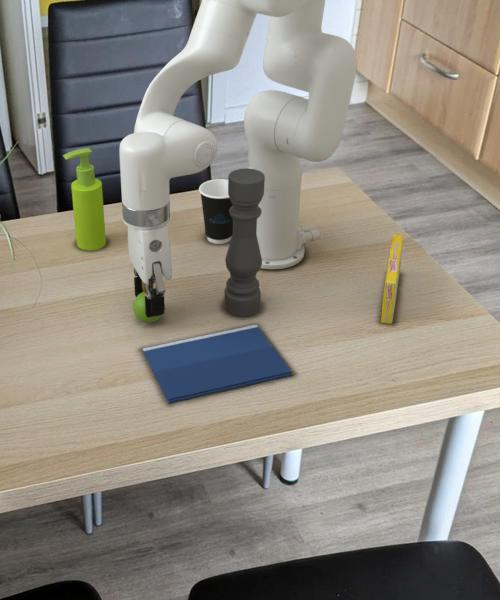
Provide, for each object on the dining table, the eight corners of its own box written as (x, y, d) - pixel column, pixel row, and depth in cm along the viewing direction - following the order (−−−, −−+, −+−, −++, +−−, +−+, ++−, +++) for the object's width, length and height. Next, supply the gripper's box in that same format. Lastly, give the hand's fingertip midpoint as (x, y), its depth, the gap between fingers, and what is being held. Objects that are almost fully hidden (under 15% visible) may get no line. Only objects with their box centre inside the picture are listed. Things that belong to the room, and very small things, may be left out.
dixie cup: (213, 252, 161) (213, 201, 155) (191, 235, 167) (191, 185, 161) (247, 240, 164) (249, 190, 158) (224, 224, 170) (225, 175, 163)
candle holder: (258, 318, 142) (265, 185, 128) (222, 315, 143) (224, 184, 129) (261, 298, 147) (267, 168, 133) (225, 296, 148) (228, 167, 134)
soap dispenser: (67, 241, 167) (58, 149, 156) (98, 233, 170) (91, 141, 158) (78, 254, 163) (69, 160, 152) (110, 245, 165) (104, 152, 154)
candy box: (387, 272, 151) (392, 233, 147) (399, 274, 151) (405, 234, 146) (378, 322, 139) (384, 281, 134) (392, 324, 138) (398, 282, 133)
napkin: (255, 325, 140) (255, 322, 140) (291, 375, 129) (292, 372, 128) (142, 350, 136) (141, 346, 136) (168, 403, 125) (168, 399, 124)
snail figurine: (166, 307, 146) (165, 248, 139) (164, 329, 141) (162, 268, 134) (136, 307, 147) (133, 248, 140) (132, 328, 141) (129, 268, 135)
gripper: (186, 231, 125) (187, 328, 135) (152, 184, 139) (155, 276, 149) (138, 239, 124) (143, 337, 134) (109, 192, 138) (115, 283, 148)
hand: (149, 304), depth 142 cm, fingers closed on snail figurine, 5 cm apart
